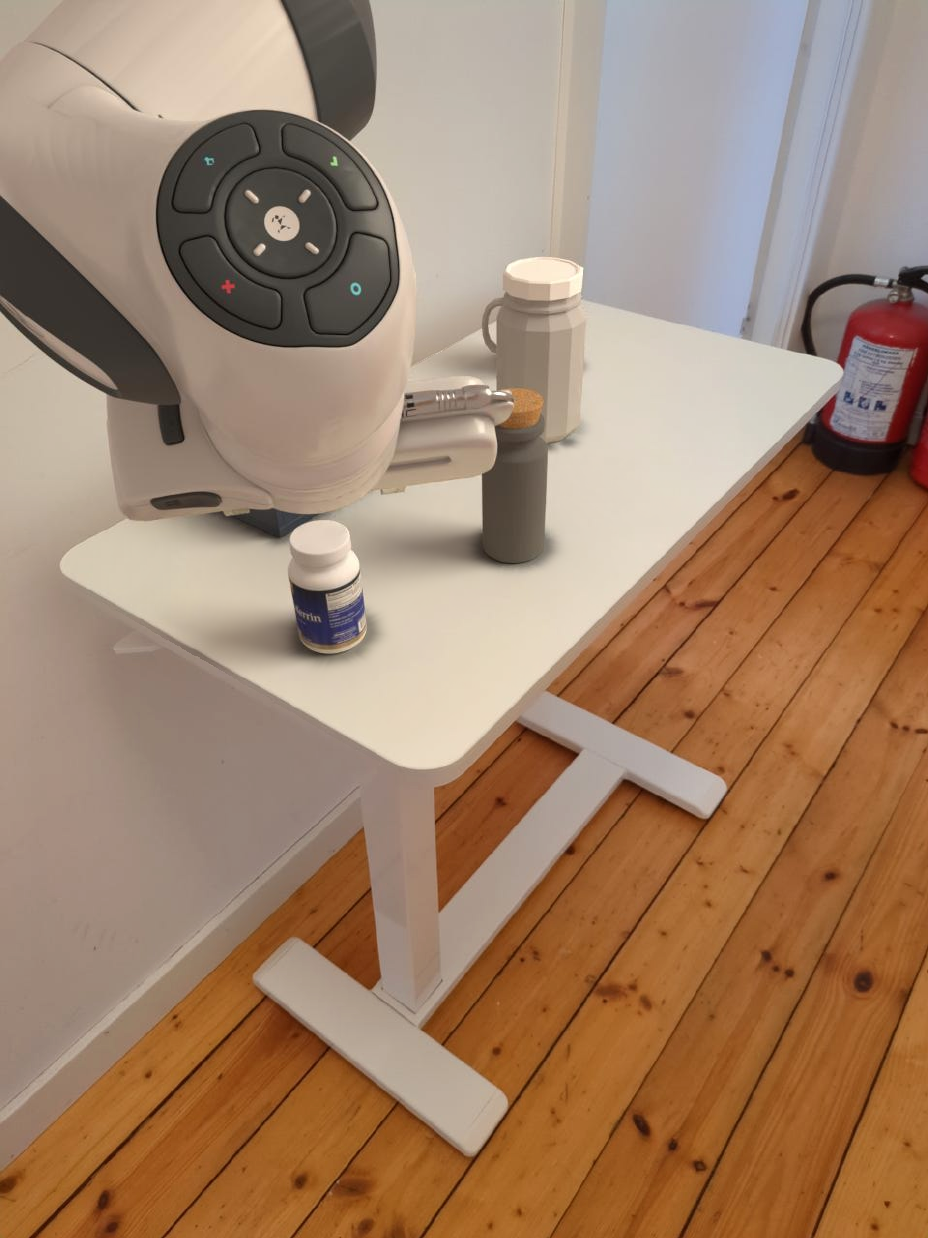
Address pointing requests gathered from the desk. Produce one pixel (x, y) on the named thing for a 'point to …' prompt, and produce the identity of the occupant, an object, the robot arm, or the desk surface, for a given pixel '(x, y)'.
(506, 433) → the bottle
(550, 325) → the jar
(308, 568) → the pill bottle
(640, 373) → the desk surface
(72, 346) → the robot arm
